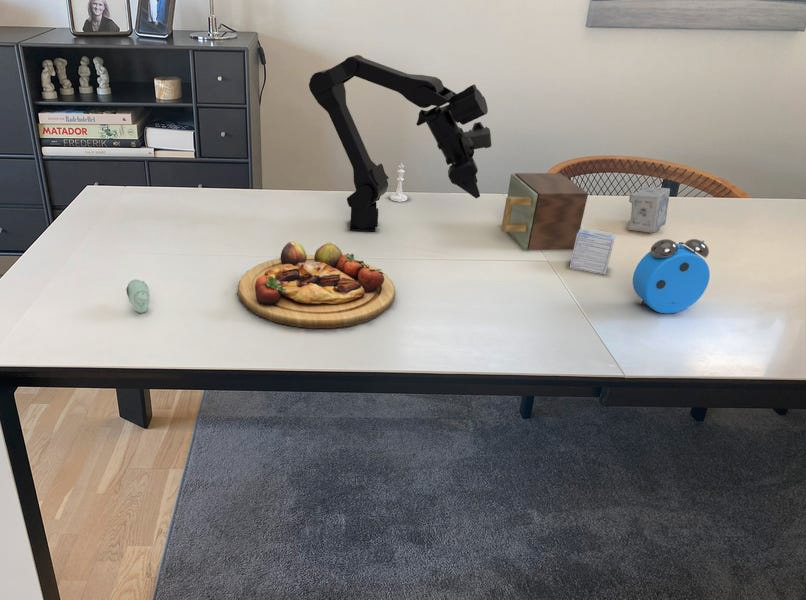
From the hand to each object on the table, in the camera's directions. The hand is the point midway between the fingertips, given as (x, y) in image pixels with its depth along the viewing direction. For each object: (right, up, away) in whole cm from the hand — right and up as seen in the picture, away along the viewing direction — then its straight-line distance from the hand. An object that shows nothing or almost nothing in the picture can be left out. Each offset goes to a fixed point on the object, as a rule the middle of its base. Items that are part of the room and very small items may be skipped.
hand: (476, 189), depth 165 cm
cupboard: (+18, -9, +11) cm, 23 cm away
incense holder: (+48, -5, +20) cm, 52 cm away
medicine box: (+25, -19, -4) cm, 32 cm away
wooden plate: (-37, -27, -21) cm, 51 cm away
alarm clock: (+34, -30, -21) cm, 50 cm away
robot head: (-71, -31, -31) cm, 83 cm away
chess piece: (-16, +5, +33) cm, 37 cm away
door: (+9, -10, +10) cm, 16 cm away
